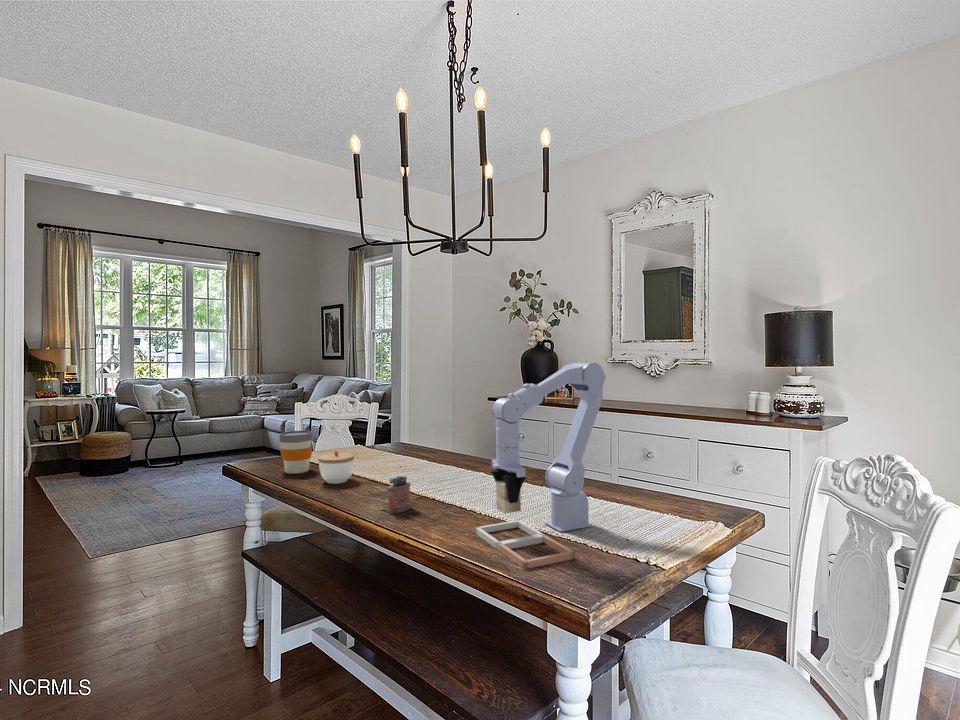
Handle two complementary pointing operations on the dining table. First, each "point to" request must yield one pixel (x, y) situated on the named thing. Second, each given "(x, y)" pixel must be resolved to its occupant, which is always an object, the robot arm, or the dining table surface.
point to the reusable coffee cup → (296, 450)
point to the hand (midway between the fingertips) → (508, 499)
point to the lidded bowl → (336, 467)
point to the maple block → (505, 499)
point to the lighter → (398, 495)
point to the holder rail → (524, 544)
